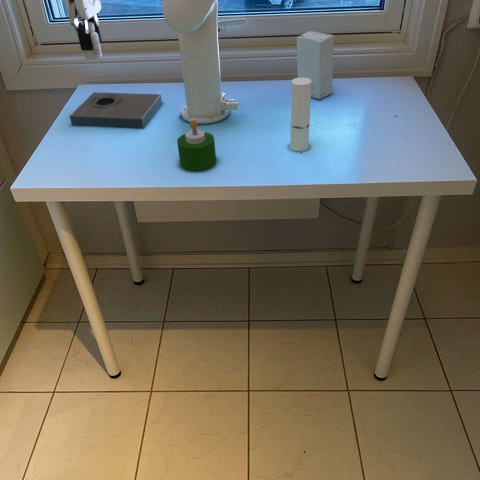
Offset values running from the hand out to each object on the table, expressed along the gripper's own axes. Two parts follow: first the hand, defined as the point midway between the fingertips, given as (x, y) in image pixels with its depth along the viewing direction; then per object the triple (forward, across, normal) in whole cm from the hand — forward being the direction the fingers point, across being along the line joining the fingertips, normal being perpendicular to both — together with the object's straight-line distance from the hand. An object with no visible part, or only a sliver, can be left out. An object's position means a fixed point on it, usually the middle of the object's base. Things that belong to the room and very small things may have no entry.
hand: (91, 45), depth 132 cm
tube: (+16, -16, -55) cm, 60 cm away
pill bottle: (+3, 0, 0) cm, 3 cm away
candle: (+16, -26, -33) cm, 45 cm away
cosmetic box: (+16, +16, -55) cm, 60 cm away
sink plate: (+17, -2, -4) cm, 17 cm away
